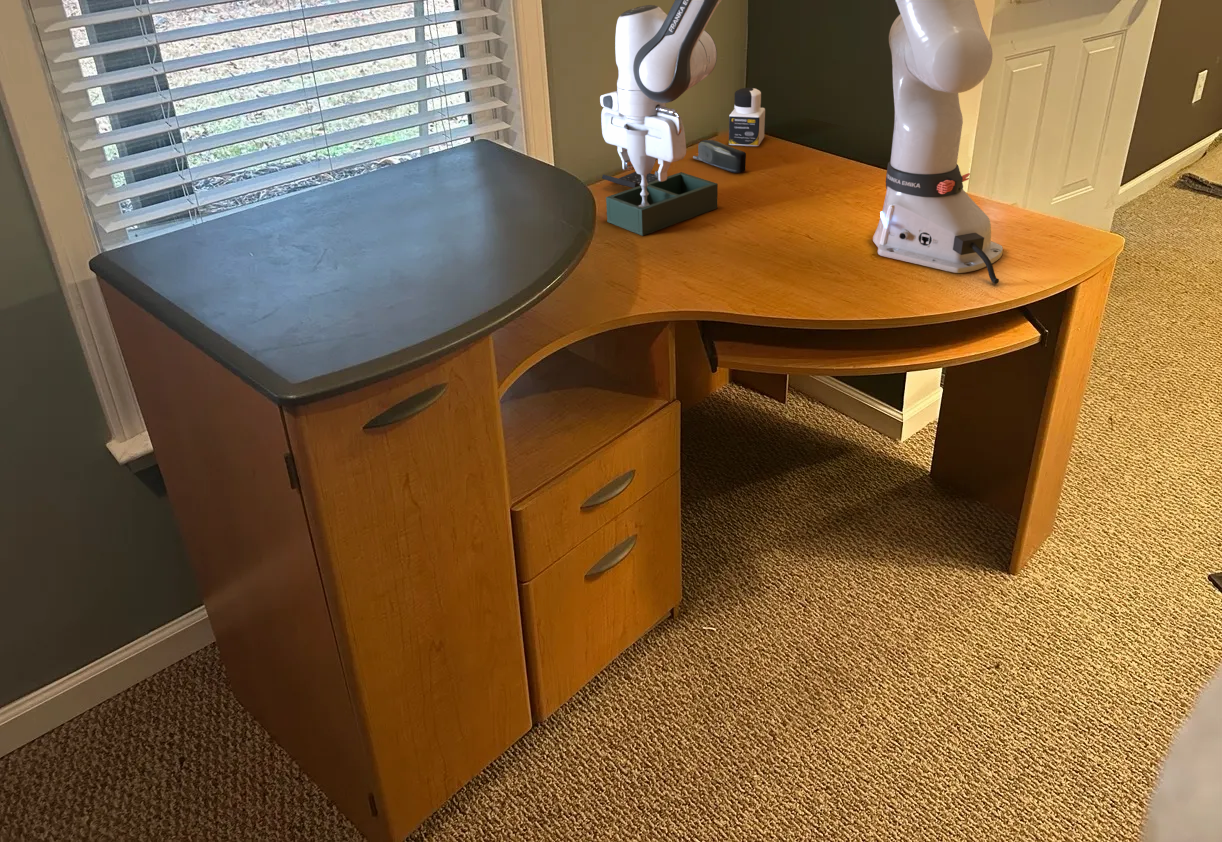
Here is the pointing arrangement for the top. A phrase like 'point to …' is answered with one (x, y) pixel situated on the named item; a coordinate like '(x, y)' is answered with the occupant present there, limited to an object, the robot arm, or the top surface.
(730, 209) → the top surface
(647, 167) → the chalice
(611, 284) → the top surface
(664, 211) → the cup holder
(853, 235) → the top surface
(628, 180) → the calculator
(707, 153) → the stapler
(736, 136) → the medicine bottle
